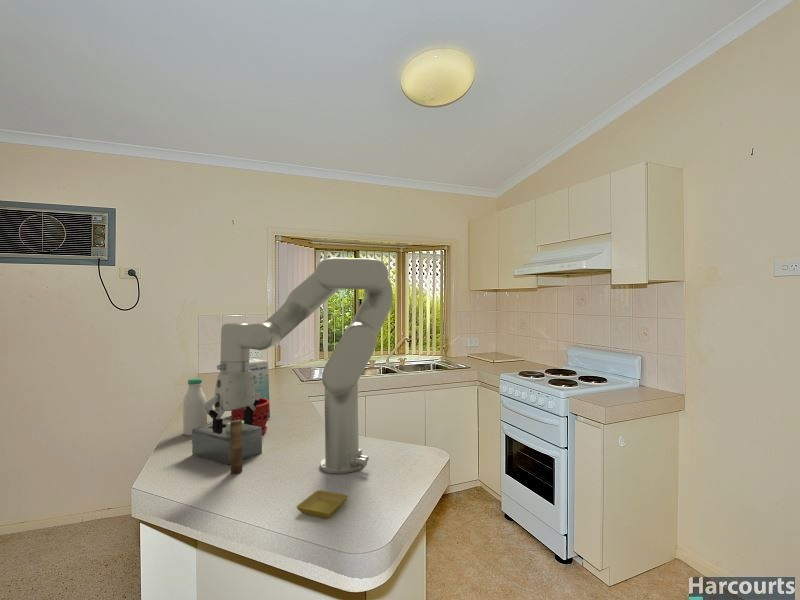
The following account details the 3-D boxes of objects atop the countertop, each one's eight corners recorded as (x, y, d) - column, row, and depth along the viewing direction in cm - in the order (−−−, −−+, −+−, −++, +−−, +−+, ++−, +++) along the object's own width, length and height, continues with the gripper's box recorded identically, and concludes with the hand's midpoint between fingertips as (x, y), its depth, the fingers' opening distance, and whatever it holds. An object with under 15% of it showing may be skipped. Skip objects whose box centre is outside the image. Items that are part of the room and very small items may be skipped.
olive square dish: (329, 523, 83) (329, 513, 83) (295, 516, 86) (295, 506, 86) (349, 504, 91) (349, 495, 91) (317, 498, 94) (317, 489, 94)
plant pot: (223, 439, 138) (223, 404, 138) (246, 428, 151) (246, 396, 151) (256, 441, 135) (255, 406, 135) (276, 429, 147) (276, 398, 148)
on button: (247, 437, 122) (247, 421, 122) (235, 442, 118) (235, 425, 118) (238, 435, 124) (238, 419, 124) (226, 439, 120) (226, 423, 120)
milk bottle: (205, 434, 143) (205, 379, 144) (181, 437, 140) (181, 381, 141) (207, 428, 150) (207, 376, 151) (184, 431, 148) (184, 378, 148)
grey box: (261, 452, 124) (261, 427, 124) (227, 466, 114) (227, 438, 114) (226, 443, 133) (226, 419, 133) (192, 454, 123) (192, 429, 123)
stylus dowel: (244, 471, 110) (244, 420, 110) (235, 475, 107) (234, 423, 107) (237, 469, 111) (237, 419, 112) (228, 472, 109) (227, 422, 109)
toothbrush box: (230, 415, 169) (229, 359, 170) (254, 411, 176) (253, 357, 177) (245, 424, 156) (244, 363, 156) (270, 418, 163) (269, 360, 163)
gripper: (214, 372, 100) (212, 439, 100) (268, 364, 115) (267, 423, 115) (197, 369, 104) (195, 434, 104) (252, 362, 119) (250, 419, 119)
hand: (233, 428), depth 109 cm, fingers open, 9 cm apart
